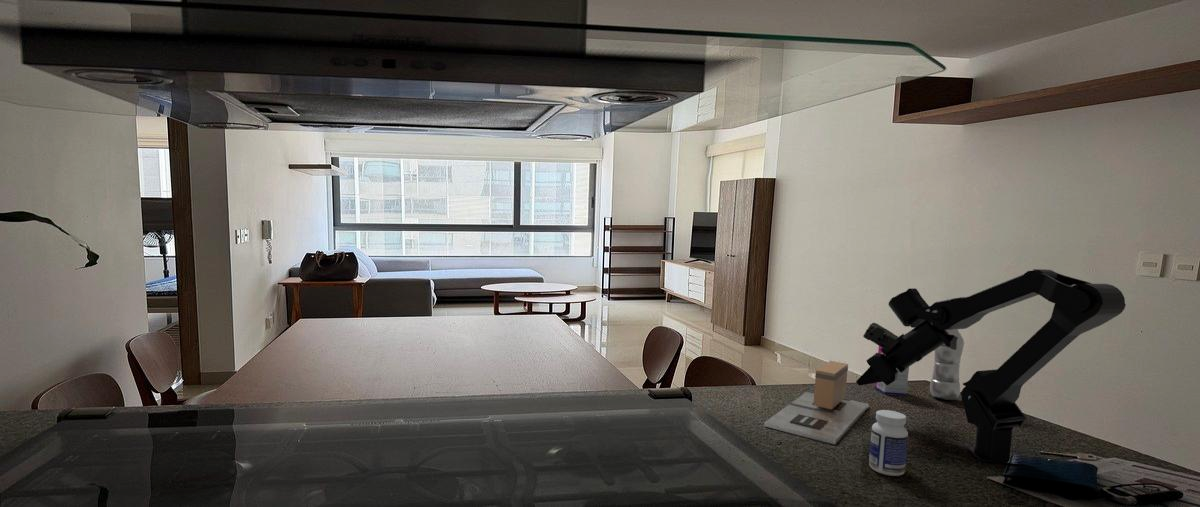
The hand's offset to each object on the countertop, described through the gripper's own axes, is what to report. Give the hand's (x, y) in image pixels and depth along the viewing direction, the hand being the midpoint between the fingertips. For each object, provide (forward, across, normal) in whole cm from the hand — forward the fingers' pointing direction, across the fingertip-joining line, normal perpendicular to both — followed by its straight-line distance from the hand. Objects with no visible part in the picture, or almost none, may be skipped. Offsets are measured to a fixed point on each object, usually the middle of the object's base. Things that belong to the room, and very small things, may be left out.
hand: (857, 383), depth 131 cm
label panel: (+9, +8, +1) cm, 12 cm away
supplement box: (+3, -25, +7) cm, 26 cm away
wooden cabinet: (+8, 0, 0) cm, 8 cm away
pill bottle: (-3, +28, +13) cm, 32 cm away
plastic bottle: (-5, -29, +15) cm, 33 cm away
